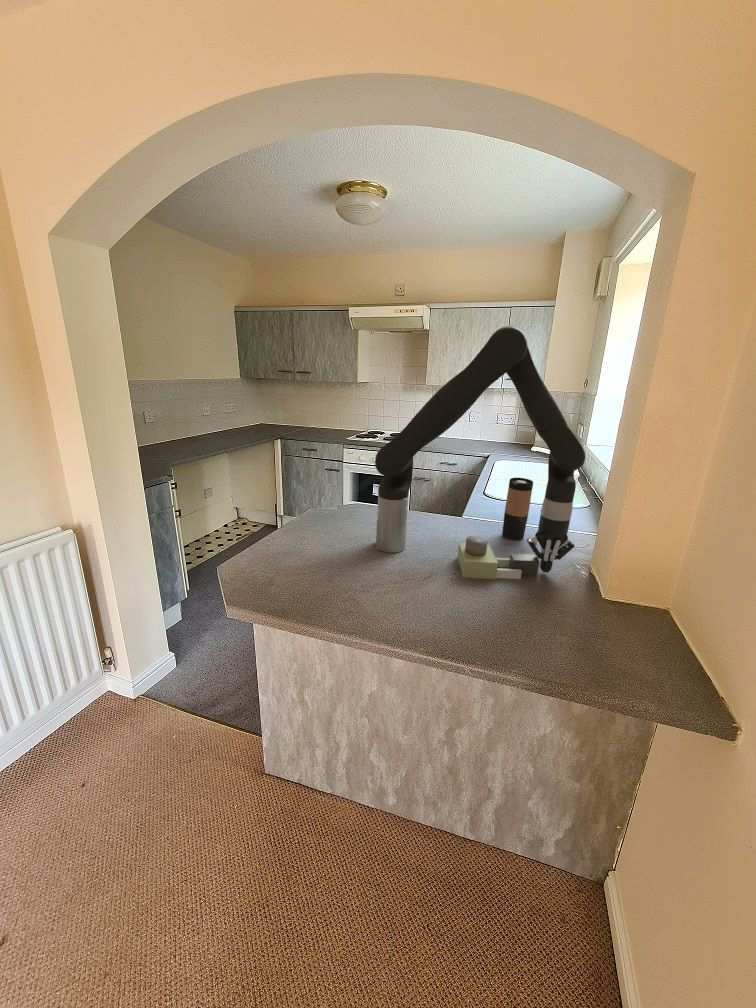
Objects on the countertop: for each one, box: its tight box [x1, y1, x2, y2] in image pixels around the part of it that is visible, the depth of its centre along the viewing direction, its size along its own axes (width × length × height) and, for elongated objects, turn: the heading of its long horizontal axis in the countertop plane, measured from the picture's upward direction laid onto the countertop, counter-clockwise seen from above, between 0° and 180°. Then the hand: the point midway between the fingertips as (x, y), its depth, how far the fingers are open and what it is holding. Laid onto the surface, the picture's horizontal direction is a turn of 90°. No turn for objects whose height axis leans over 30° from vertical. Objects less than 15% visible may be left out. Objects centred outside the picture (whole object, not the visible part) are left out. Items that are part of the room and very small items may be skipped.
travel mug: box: [501, 477, 534, 541], centre depth 138 cm, size 8×8×20 cm
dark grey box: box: [507, 553, 541, 578], centre depth 116 cm, size 7×4×5 cm, turn 88°
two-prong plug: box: [456, 535, 522, 580], centre depth 117 cm, size 16×12×8 cm
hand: (544, 571), depth 116 cm, fingers closed
